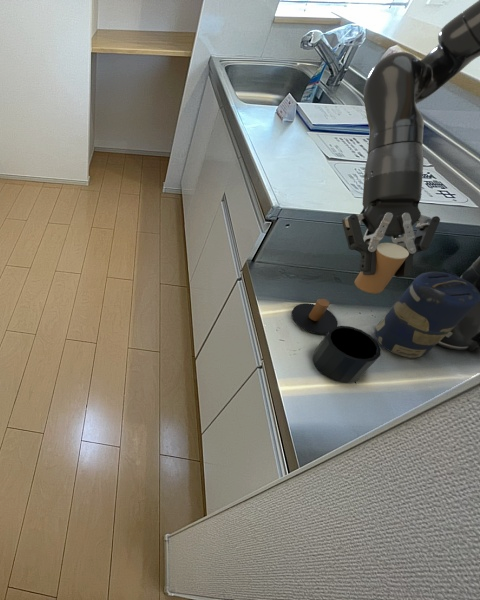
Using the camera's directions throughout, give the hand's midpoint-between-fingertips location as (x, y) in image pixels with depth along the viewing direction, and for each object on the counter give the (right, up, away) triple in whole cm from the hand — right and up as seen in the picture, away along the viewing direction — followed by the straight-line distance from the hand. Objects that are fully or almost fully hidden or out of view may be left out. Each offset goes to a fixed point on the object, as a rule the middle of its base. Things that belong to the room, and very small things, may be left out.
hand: (385, 275), depth 59 cm
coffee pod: (+1, -2, +4) cm, 5 cm away
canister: (+17, -14, +16) cm, 27 cm away
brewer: (+1, -18, +13) cm, 22 cm away
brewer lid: (+2, -9, +22) cm, 23 cm away
